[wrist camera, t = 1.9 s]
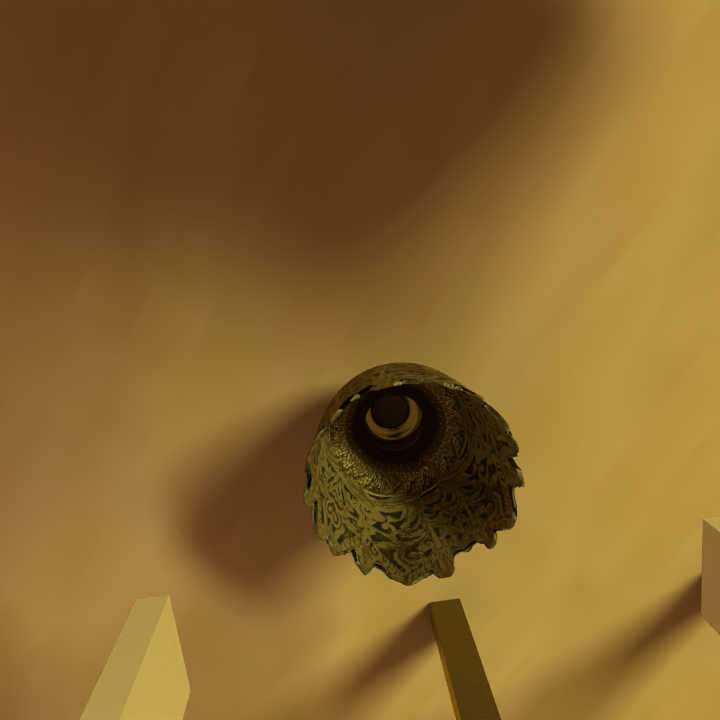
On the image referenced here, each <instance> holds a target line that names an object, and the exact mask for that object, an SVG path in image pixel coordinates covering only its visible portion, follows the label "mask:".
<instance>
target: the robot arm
mask: <svg viewBox="0 0 720 720" xmlns="http://www.w3.org/2000/svg"><path fill="white" fill-rule="evenodd" d="M701 616H702V617H703V618H704V619H705V620H706V621H707V622H708V623H709V624H710V625H711V626H712V627H713V628H714V629H715V631H716V632H717V633H718V634H719V635H720V516H718V517H711V518H704V519H703V541H702V596H701ZM189 694H190V686H189V682H188V677H187V673H186V668H185V664H184V659H183V655H182V650H181V646H180V642H179V637H178V633H177V628H176V624H175V619H174V615H173V610H172V606H171V602H170V597H169V595H163V596H156V597H149V598H142V599H137V600H136V602H135V604H134V606H133V609H132V611H131V613H130V615H129V617H128V619H127V621H126V623H125V625H124V627H123V630H122V632H121V634H120V636H119V638H118V640H117V642H116V644H115V646H114V649H113V651H112V653H111V655H110V657H109V659H108V661H107V663H106V665H105V667H104V670H103V672H102V674H101V676H100V678H99V680H98V682H97V684H96V686H95V689H94V691H93V693H92V695H91V697H90V699H89V701H88V703H87V705H86V708H85V710H84V712H83V714H82V716H81V718H80V720H183V716H184V712H185V709H186V705H187V701H188V698H189Z"/></svg>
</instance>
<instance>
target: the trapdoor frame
mask: <svg viewBox="0 0 720 720" xmlns="http://www.w3.org/2000/svg"><path fill="white" fill-rule="evenodd" d="M430 606H431V615H432V625H433V631H434V635H435V639H436V642H437V646H438V650H439V654H440V658H441V662H442V666H443V670H444V674H445V678H446V682H447V686H448V689H449V693H450V697H451V701H452V705H453V709H454V713H455V717H456V720H501V718H500V715H499V712H498V709H497V706H496V703H495V700H494V697H493V695H492V692H491V689H490V686H489V683H488V680H487V677H486V674H485V671H484V668H483V665H482V662H481V659H480V657H479V654H478V651H477V648H476V645H475V642H474V639H473V636H472V633H471V630H470V627H469V624H468V621H467V619H466V616H465V613H464V610H463V607H462V604H461V601H460V599H454V600H446V601H439V602H432V603H430Z"/></svg>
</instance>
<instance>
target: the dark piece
mask: <svg viewBox="0 0 720 720" xmlns="http://www.w3.org/2000/svg"><path fill="white" fill-rule="evenodd" d="M390 395H399V396H401V397H402V398H403V399H404V400H405V401H406V403H407V405H408V416H407V418H406V420H405V421H404V422H403V423H402V424H401V425H399V426H397V427H392V428H388V427H384V426H382V425H380V424H379V423H378V422H377V421H376V420H375V418H374V415H373V407H374V404H375V402H376V401H378V400H379V399H381V398H383V397H386V396H390ZM509 430H510V428H509V425H508V423H507V422H506V421H505V420H504V419H503V417H502V416H501V415H500V414H499V413H498V412H497V411H496V410H494V409H493V408H492V407H491V406H490V405H488V404H487V403H486V402H485V401H484V398H482V397H481V396H480V395H478V394H476V393H474V392H472V391H471V390H469V389H468V388H466V387H465V386H463V385H462V384H461V383H459V382H458V381H456V380H455V379H453V378H451V377H449V376H448V375H446V374H444V373H442V372H440V371H438V370H435V369H433V368H430V367H427V366H424V365H420V364H414V363H390V364H384V365H380V366H376V367H374V368H371V369H369V370H366V371H365V372H363V373H361V374H359V375H357V376H356V377H354V378H353V379H351V380H350V381H349V382H348V383H347V384H345V385H344V386H343V387H342V389H341V390H340V391H339V392H338V393H337V394H336V396H335V397H334V398H333V400H332V401H331V403H330V404H329V406H328V408H327V409H326V412H325V414H324V416H323V418H322V420H321V423H320V425H319V428H318V431H317V433H316V436H315V439H314V442H313V444H312V446H311V448H310V450H309V453H308V457H307V461H306V467H305V473H306V485H305V488H304V504H305V505H308V506H312V522H313V526H314V529H315V532H316V534H317V536H318V537H319V538H320V539H322V540H324V539H326V543H327V544H329V547H330V550H331V552H332V554H333V555H335V556H339V555H342V554H344V555H345V556H346V555H347V554H348V553H350V552H351V553H352V556H353V558H354V561H355V564H356V565H357V566H358V567H359V569H360V570H361V572H362V573H363V574H364V575H367V574H368V573H369V572H370V571H371V570H372V568H374V567H376V568H377V569H380V570H381V571H383V572H384V573H385V574H386V576H387V577H388V578H390V579H393V580H395V581H397V582H400V583H402V584H404V585H406V586H410V585H414V584H416V583H418V582H419V581H420V580H422V579H423V578H427V577H428V576H430V575H432V574H434V575H435V576H436V577H438V578H446V577H451V576H452V574H453V573H454V571H455V567H454V559H455V555H457V554H459V553H460V552H469V551H470V550H471V549H472V547H473V545H475V544H476V543H480V544H484V545H485V546H486V547H487V548H488V549H492V548H493V547H495V545H496V542H497V533H496V531H499V530H500V531H502V530H506V529H508V530H510V529H511V528H512V527H514V524H515V522H516V518H517V505H516V501H515V495H514V489H515V488H516V487H519V488H520V487H521V486H523V487H524V479H523V476H522V472H521V469H520V468H519V467H518V466H517V465H516V463H515V461H514V460H513V457H516V456H517V453H518V452H519V447H518V444H517V442H516V441H515V439H514V438H513V437H512V434H511V432H510V431H509Z"/></svg>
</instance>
